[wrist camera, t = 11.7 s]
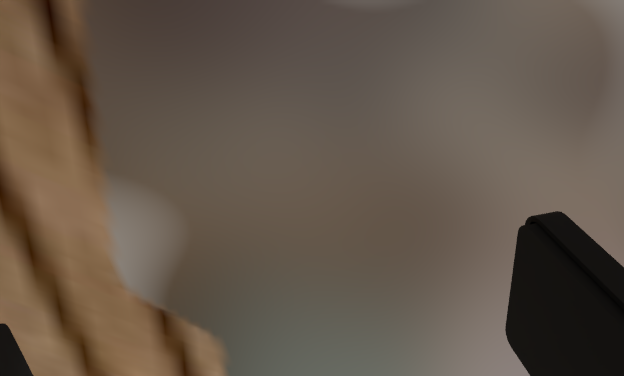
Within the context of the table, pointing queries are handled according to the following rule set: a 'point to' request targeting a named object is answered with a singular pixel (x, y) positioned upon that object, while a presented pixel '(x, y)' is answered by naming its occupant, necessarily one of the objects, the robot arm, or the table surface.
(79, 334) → the table surface
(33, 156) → the table surface
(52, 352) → the table surface
